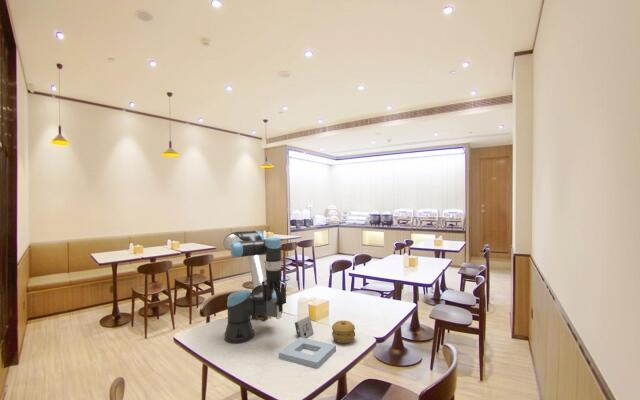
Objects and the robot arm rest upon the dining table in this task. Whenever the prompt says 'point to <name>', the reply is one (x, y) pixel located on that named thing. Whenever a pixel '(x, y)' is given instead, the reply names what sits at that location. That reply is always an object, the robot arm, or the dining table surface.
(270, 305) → the plug
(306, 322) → the electrical switch
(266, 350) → the dining table surface
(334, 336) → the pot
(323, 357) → the socket plate
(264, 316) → the kendama
